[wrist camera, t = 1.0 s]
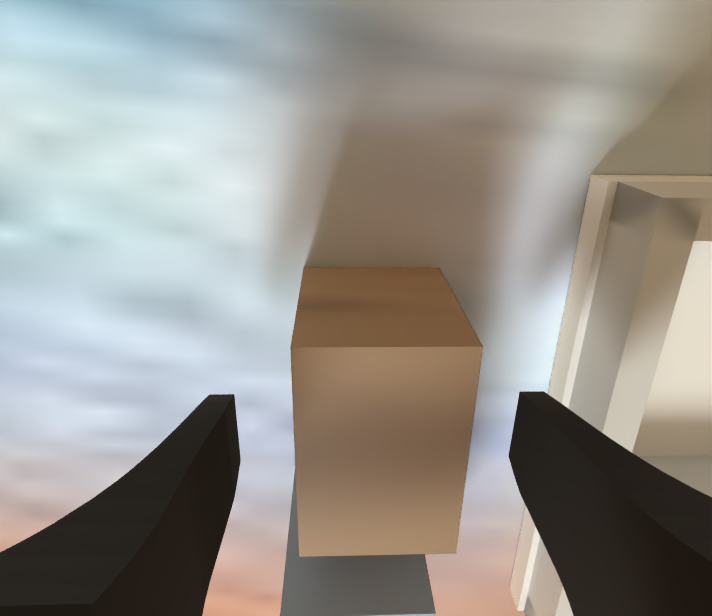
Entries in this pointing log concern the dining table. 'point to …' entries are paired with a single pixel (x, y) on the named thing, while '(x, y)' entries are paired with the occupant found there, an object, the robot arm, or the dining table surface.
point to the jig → (634, 343)
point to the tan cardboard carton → (381, 411)
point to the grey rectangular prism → (353, 582)
